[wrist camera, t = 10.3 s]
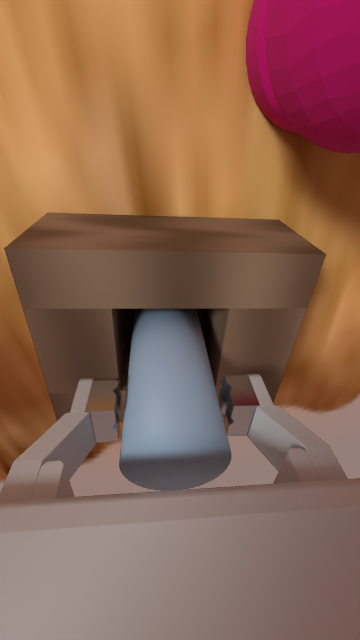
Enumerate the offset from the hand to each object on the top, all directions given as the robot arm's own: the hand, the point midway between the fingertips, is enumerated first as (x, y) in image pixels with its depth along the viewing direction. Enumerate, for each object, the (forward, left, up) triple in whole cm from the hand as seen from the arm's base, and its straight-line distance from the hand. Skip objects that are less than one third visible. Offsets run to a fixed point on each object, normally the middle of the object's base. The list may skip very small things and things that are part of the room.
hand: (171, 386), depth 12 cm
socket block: (0, 0, -7) cm, 7 cm away
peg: (0, 0, -7) cm, 7 cm away
